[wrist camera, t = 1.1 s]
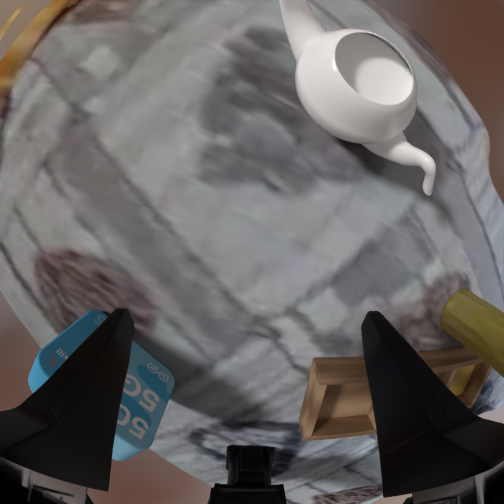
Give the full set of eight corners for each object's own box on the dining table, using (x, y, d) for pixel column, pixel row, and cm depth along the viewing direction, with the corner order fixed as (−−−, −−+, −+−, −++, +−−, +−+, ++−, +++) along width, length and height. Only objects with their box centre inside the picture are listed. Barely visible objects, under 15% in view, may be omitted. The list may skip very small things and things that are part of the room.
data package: (178, 376, 28) (148, 456, 16) (158, 394, 29) (125, 468, 17) (97, 304, 26) (30, 357, 14) (81, 327, 27) (21, 381, 15)
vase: (439, 300, 26) (521, 357, 12) (473, 280, 25) (554, 322, 11) (440, 341, 27) (507, 404, 13) (473, 321, 27) (541, 370, 13)
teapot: (357, 221, 24) (408, 235, 15) (233, 53, 21) (224, -4, 12) (424, 170, 23) (486, 165, 14) (310, 16, 20) (328, -38, 11)
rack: (460, 395, 29) (471, 407, 26) (298, 420, 29) (302, 441, 25) (484, 341, 27) (498, 353, 24) (313, 357, 27) (320, 378, 23)
